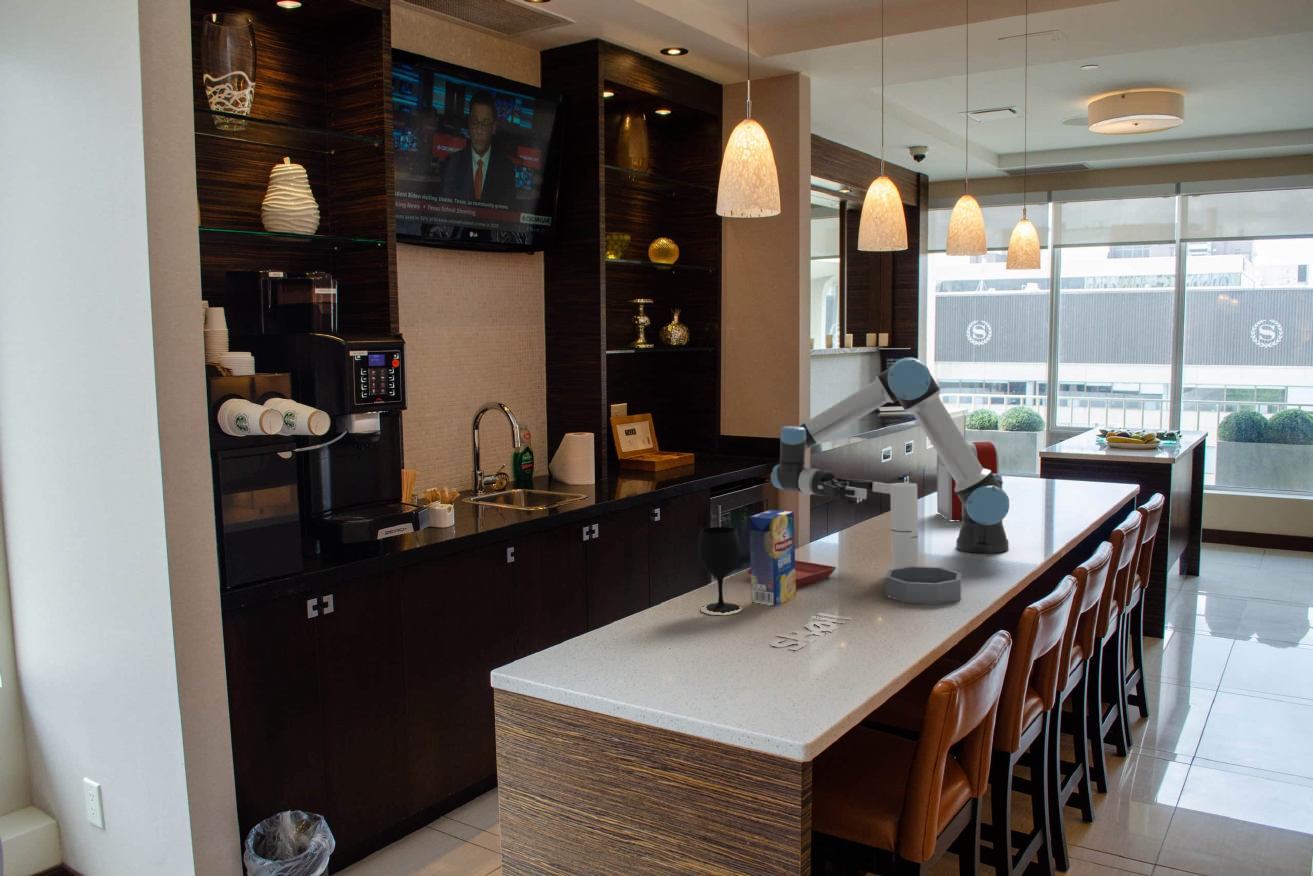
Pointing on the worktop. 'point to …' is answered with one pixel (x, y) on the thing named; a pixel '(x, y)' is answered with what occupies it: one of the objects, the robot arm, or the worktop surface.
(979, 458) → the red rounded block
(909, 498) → the cylindrical container
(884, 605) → the worktop surface
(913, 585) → the bowl
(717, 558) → the wine glass
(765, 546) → the beverage box
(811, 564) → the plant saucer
